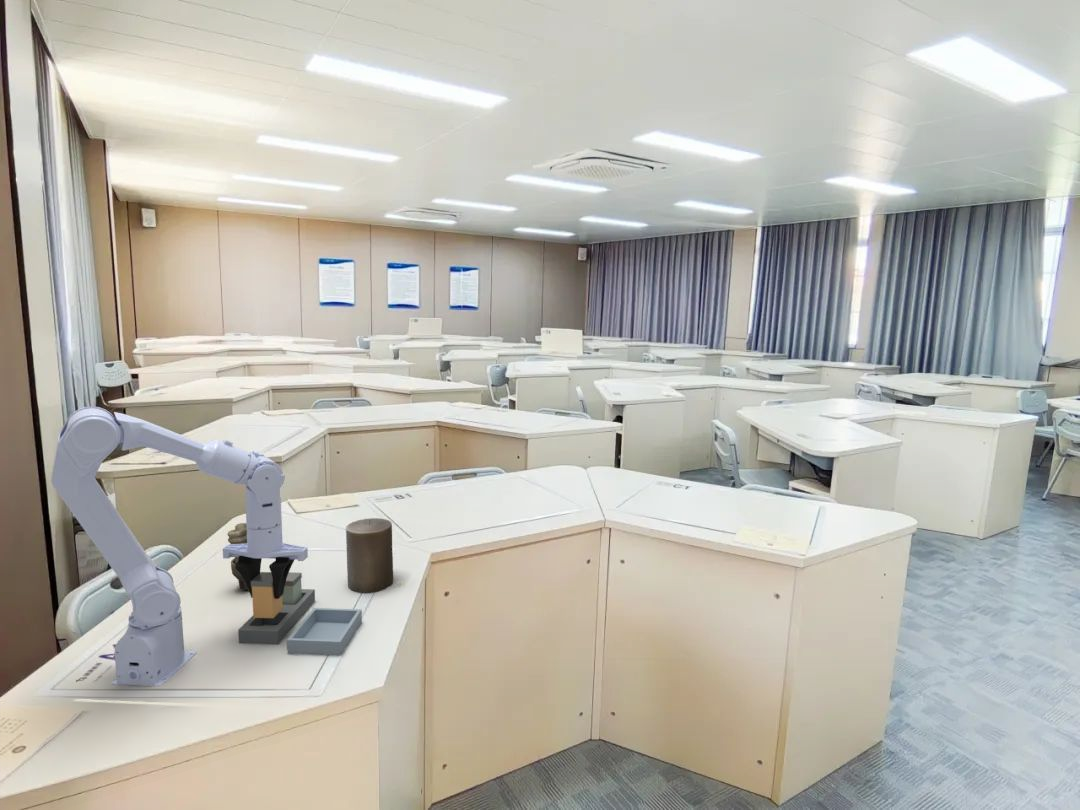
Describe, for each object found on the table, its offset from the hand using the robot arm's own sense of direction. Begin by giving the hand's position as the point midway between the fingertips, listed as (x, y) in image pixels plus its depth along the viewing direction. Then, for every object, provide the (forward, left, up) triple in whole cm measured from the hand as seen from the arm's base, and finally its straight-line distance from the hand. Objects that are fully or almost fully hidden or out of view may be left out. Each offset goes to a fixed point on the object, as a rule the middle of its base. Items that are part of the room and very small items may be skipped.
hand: (267, 595), depth 105 cm
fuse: (+8, 0, -7) cm, 11 cm away
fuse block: (+4, 0, -8) cm, 9 cm away
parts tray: (-1, -11, -8) cm, 13 cm away
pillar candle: (+21, -12, -8) cm, 26 cm away
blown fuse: (0, 0, -3) cm, 3 cm away
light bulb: (+16, +13, -8) cm, 22 cm away
